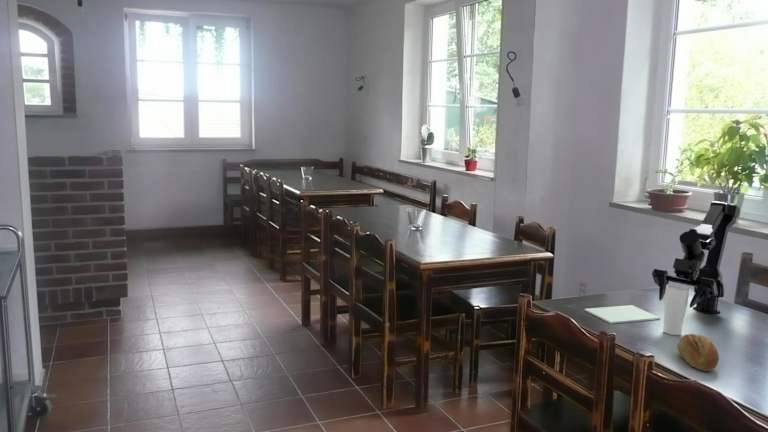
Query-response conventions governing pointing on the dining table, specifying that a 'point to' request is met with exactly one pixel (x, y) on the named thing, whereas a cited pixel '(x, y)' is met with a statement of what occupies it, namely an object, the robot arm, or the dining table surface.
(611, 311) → the pad
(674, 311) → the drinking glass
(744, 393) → the dining table surface
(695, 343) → the bread roll
